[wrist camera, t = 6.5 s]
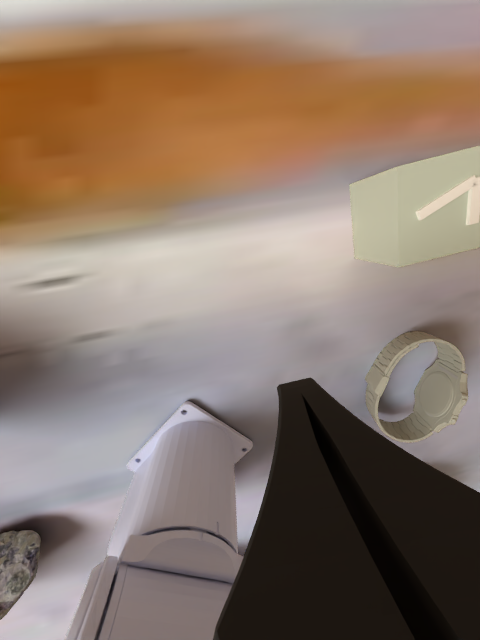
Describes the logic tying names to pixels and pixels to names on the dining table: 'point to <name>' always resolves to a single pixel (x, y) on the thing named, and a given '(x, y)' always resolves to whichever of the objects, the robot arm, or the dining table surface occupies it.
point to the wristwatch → (420, 388)
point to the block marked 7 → (418, 210)
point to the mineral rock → (17, 565)
